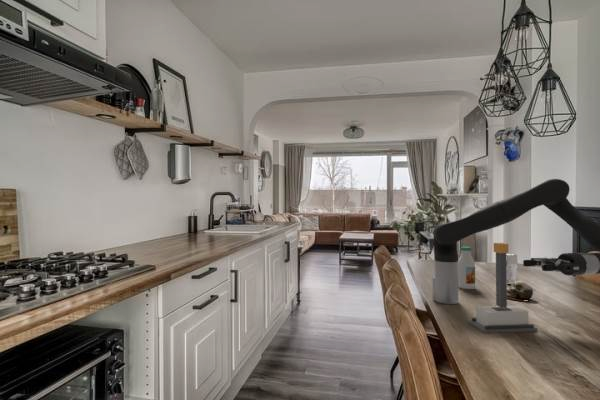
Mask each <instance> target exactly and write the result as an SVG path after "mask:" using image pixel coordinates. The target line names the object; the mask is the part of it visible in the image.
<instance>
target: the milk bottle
mask: <svg viewBox="0 0 600 400" xmlns="http://www.w3.org/2000/svg"><path fill="white" fill-rule="evenodd" d="M460 251H461V253H460V257H458V289H463V290H474V289H476V263H475V260H474V258H473V256H472V247H471V246H461V247H460Z"/></svg>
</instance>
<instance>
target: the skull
mask: <svg viewBox="0 0 600 400" xmlns="http://www.w3.org/2000/svg"><path fill="white" fill-rule="evenodd" d="M533 294H534V290H533V287H532V286H531V285H529V284H528V283H527V282H525V281H523V280H516V282H514V284H511V285H510V286H508V287H507V299H509V300H514V301H517V302H527V303H529V302H528V301H524V300H530V301H531V299H530V298H533Z"/></svg>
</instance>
